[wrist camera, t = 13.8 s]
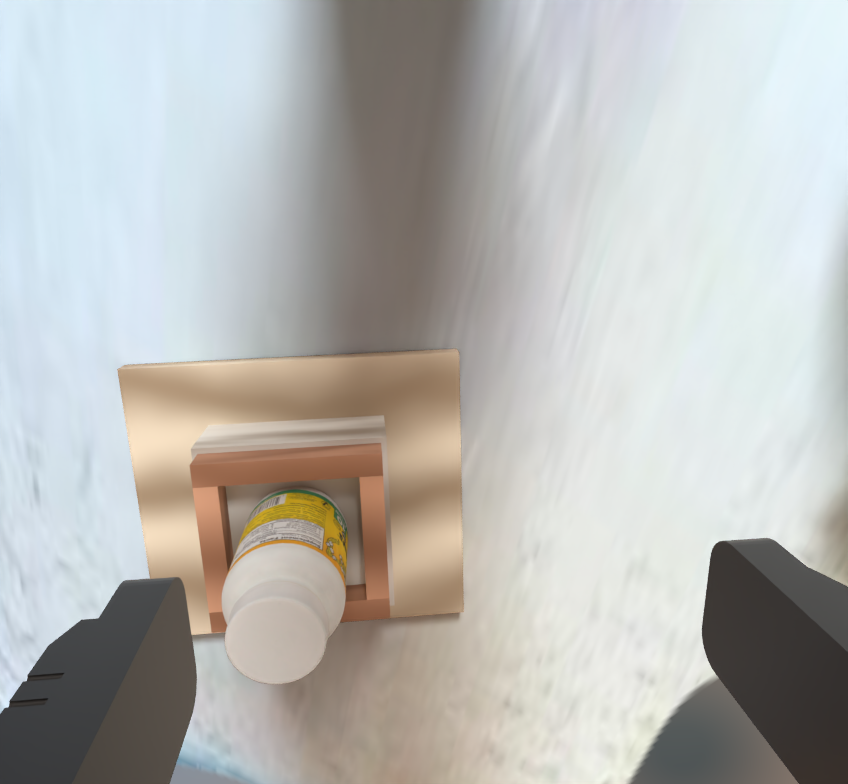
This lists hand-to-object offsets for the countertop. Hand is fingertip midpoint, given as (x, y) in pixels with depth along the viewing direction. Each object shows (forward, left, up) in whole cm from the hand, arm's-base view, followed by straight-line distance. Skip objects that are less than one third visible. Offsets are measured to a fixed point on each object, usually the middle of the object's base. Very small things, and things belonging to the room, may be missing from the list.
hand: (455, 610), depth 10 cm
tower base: (+10, -5, -29) cm, 31 cm away
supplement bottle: (+10, -5, -24) cm, 26 cm away
